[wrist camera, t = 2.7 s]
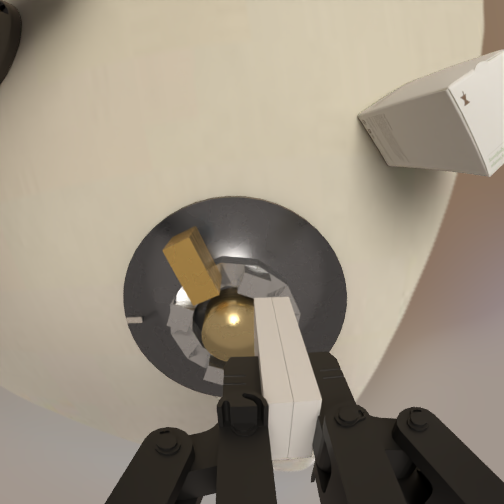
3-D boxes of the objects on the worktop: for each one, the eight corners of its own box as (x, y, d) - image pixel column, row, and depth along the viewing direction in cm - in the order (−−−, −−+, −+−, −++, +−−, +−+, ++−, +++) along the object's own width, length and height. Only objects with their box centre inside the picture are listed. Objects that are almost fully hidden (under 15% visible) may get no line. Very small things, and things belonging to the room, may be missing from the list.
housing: (134, 381, 37) (123, 410, 32) (124, 188, 30) (102, 196, 25) (320, 394, 39) (329, 423, 33) (362, 209, 31) (384, 220, 26)
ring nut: (311, 337, 34) (324, 370, 28) (209, 377, 35) (205, 412, 30) (248, 197, 29) (250, 208, 24) (132, 253, 31) (111, 275, 25)
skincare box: (386, 166, 30) (487, 185, 15) (352, 111, 28) (442, 86, 14) (439, 129, 29) (544, 129, 14) (409, 76, 27) (508, 45, 12)
